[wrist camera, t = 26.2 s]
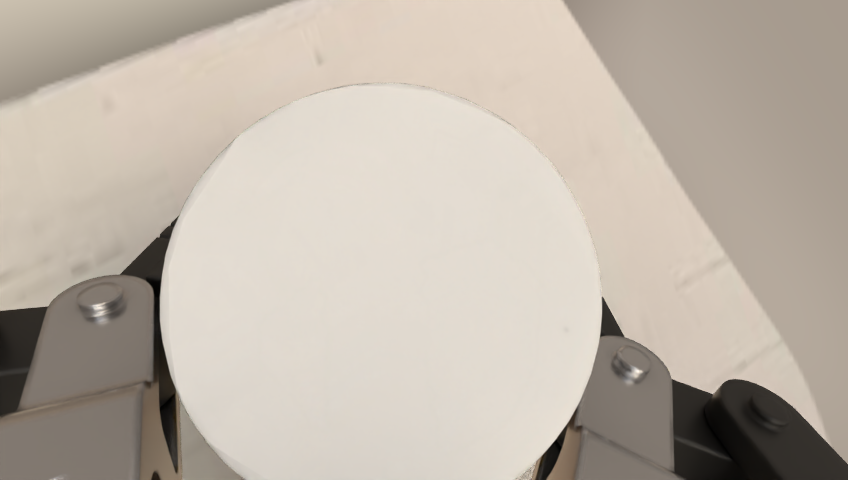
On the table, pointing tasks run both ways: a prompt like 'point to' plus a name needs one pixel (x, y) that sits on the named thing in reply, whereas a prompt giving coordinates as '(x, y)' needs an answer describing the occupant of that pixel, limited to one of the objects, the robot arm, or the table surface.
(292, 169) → the pill bottle
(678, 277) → the table surface
